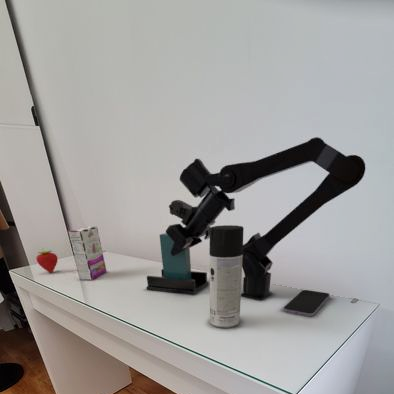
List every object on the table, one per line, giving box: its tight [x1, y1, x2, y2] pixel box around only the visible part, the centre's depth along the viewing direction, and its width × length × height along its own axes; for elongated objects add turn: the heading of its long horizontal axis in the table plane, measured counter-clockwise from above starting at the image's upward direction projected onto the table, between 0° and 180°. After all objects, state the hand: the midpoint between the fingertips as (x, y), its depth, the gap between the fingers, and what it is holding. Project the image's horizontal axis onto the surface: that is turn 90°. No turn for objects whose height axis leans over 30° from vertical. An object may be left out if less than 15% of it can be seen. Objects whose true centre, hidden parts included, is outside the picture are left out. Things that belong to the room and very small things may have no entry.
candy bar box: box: [67, 225, 108, 281], centre depth 101 cm, size 11×5×16 cm, turn 168°
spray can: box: [208, 224, 245, 329], centre depth 59 cm, size 7×7×20 cm
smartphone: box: [282, 289, 331, 317], centre depth 72 cm, size 7×1×15 cm
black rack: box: [146, 268, 209, 296], centre depth 88 cm, size 16×11×4 cm
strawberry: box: [36, 248, 58, 274], centre depth 110 cm, size 6×8×10 cm
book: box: [159, 232, 192, 279], centre depth 85 cm, size 3×8×13 cm, turn 65°
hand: (174, 253), depth 84 cm, fingers closed on book, 3 cm apart
